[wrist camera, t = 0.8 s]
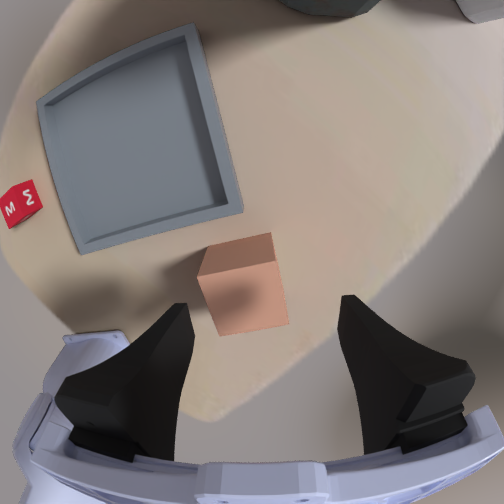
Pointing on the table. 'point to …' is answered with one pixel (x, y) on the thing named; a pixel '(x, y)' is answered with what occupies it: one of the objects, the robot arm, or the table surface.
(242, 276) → the wooden cube
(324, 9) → the bottle
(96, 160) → the tray
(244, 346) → the table surface
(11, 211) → the red letter cube
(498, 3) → the photo printer
